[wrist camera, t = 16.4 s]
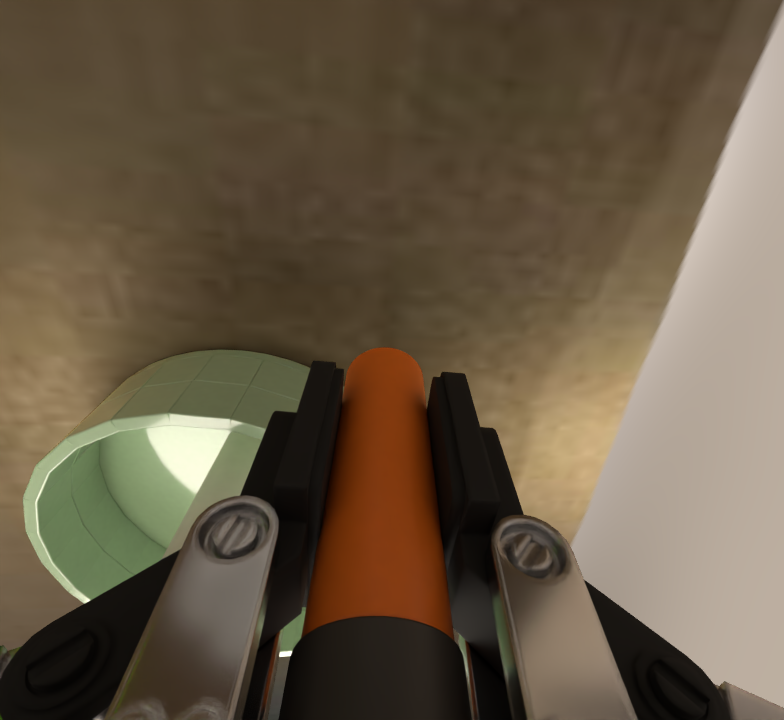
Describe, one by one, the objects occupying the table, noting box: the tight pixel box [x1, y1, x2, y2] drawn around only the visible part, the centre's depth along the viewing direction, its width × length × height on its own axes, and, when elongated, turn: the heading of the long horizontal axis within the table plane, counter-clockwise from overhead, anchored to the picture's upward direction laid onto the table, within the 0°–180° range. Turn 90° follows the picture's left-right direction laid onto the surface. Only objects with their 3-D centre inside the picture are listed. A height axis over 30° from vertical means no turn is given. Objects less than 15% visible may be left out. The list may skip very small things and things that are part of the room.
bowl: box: [23, 349, 344, 657], centre depth 22 cm, size 17×17×5 cm
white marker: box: [158, 431, 262, 562], centre depth 18 cm, size 2×2×9 cm
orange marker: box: [279, 347, 472, 720], centre depth 8 cm, size 2×2×9 cm
